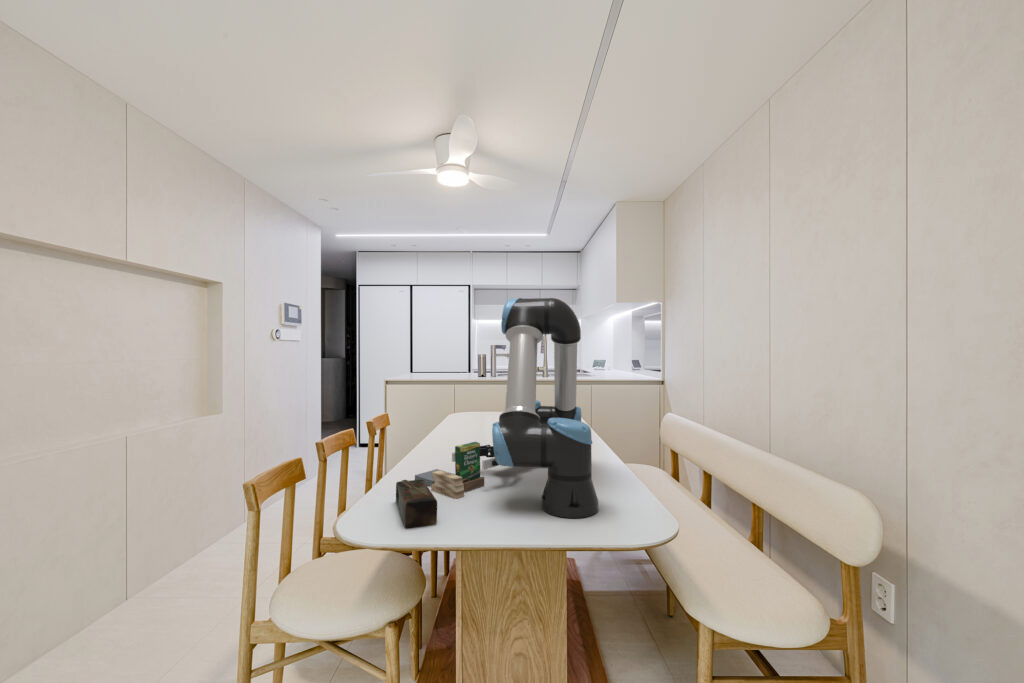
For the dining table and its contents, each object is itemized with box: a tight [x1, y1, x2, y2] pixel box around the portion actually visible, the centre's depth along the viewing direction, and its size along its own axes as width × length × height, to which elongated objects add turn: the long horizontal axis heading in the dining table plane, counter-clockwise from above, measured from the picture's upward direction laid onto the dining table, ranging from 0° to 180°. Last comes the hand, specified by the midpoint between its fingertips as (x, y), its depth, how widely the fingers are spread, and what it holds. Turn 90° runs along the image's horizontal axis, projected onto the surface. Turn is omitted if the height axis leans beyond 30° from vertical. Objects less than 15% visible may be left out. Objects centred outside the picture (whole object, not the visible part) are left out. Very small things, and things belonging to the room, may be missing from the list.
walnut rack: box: [463, 476, 485, 493], centre depth 133 cm, size 6×8×2 cm
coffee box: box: [454, 441, 481, 483], centre depth 133 cm, size 8×3×13 cm, turn 133°
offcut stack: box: [430, 469, 465, 499], centre depth 127 cm, size 11×3×5 cm, turn 49°
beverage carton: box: [395, 479, 438, 529], centre depth 112 cm, size 8×19×7 cm, turn 22°
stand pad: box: [414, 468, 455, 487], centre depth 138 cm, size 9×9×2 cm
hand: (467, 461), depth 133 cm, fingers open, 13 cm apart
